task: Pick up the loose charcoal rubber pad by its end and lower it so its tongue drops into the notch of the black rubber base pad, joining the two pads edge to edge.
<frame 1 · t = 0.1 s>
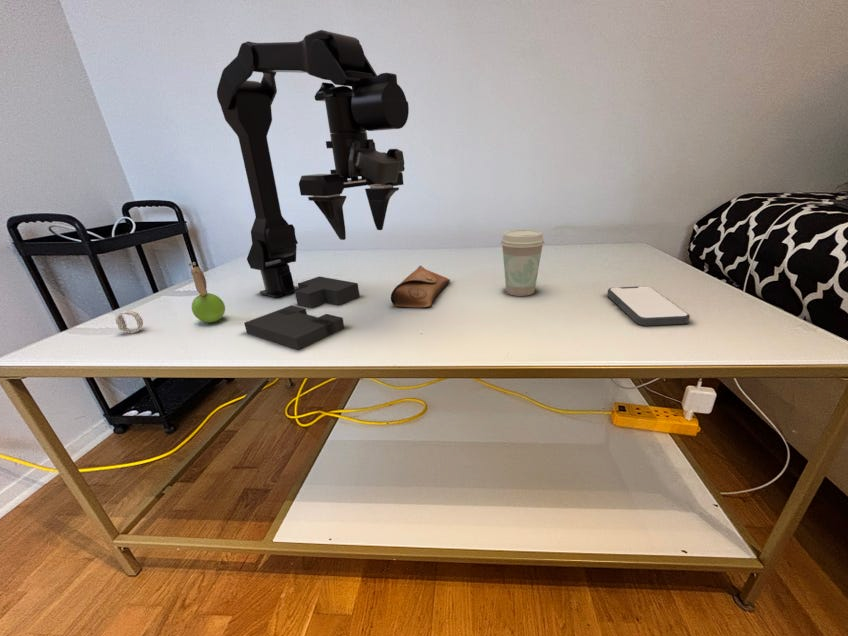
hand: (362, 234, 72), 15 cm above the table, tool pointing down, fingers open, 9 cm apart
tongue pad: (329, 296, 89), on the table
phone case: (643, 309, 75), on the table
green ball with stick: (213, 323, 78), on the table
sunglasses case: (423, 294, 88), on the table
beige textured ring: (133, 332, 75), on the table
notched pad: (300, 328, 73), on the table
coffee cup: (520, 292, 86), on the table
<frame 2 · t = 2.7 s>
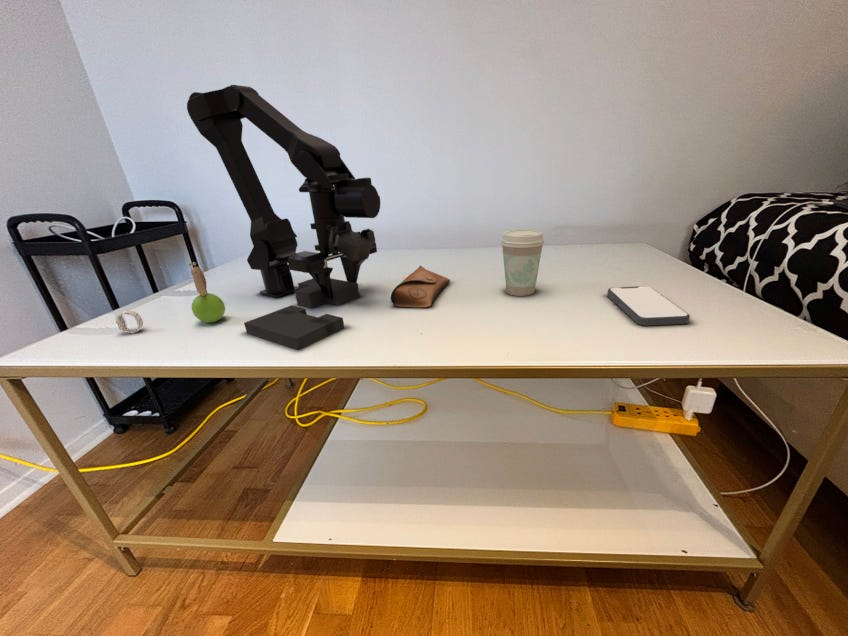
hand: (342, 294, 86), 1 cm above the table, tool pointing down, fingers closed on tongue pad, 6 cm apart
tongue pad: (329, 296, 89), on the table, touching gripper
everything else where it was.
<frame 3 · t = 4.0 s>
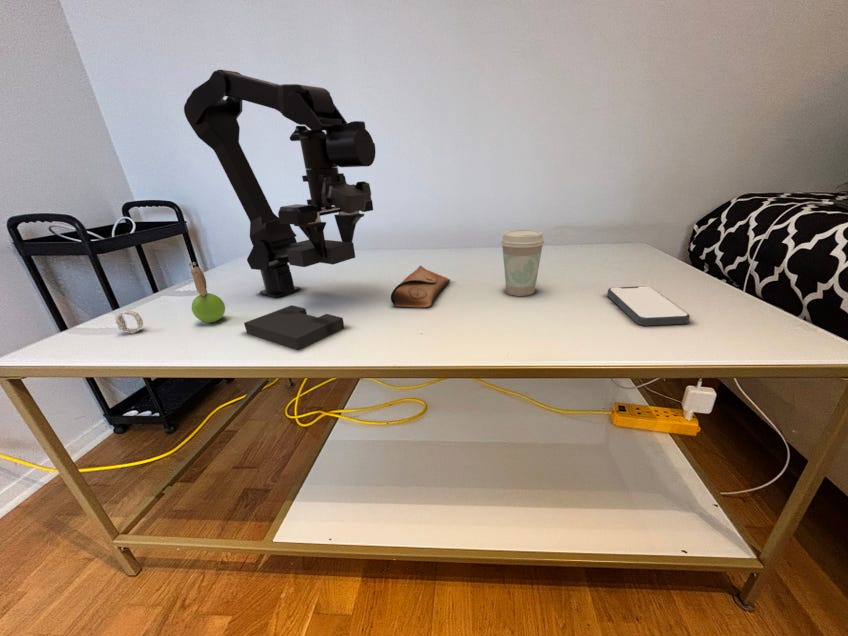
hand: (336, 254, 82), 10 cm above the table, tool pointing down, fingers closed on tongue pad, 6 cm apart
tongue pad: (324, 258, 84), point 8 cm above the table, touching gripper
everything else where it was.
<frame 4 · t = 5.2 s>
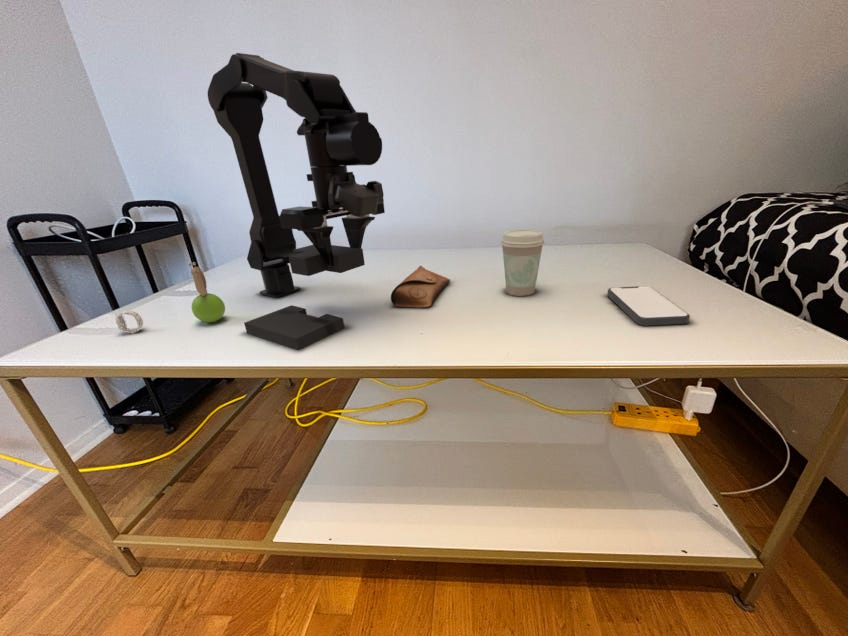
hand: (344, 262, 74), 10 cm above the table, tool pointing down, fingers closed on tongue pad, 6 cm apart
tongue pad: (329, 265, 76), point 9 cm above the table, touching gripper
everything else where it was.
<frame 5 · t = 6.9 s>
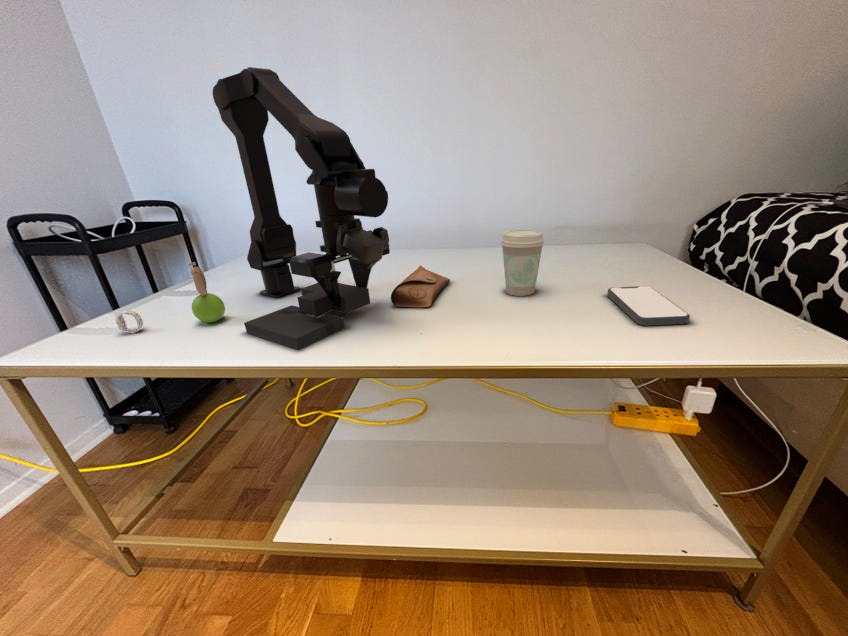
hand: (350, 301, 76), 3 cm above the table, tool pointing down, fingers closed on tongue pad, 6 cm apart
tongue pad: (336, 303, 79), point 2 cm above the table, touching gripper
everything else where it was.
when the fingers open (1 cm above the table, at t = 8.0 s): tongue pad stays where it is, on the table.
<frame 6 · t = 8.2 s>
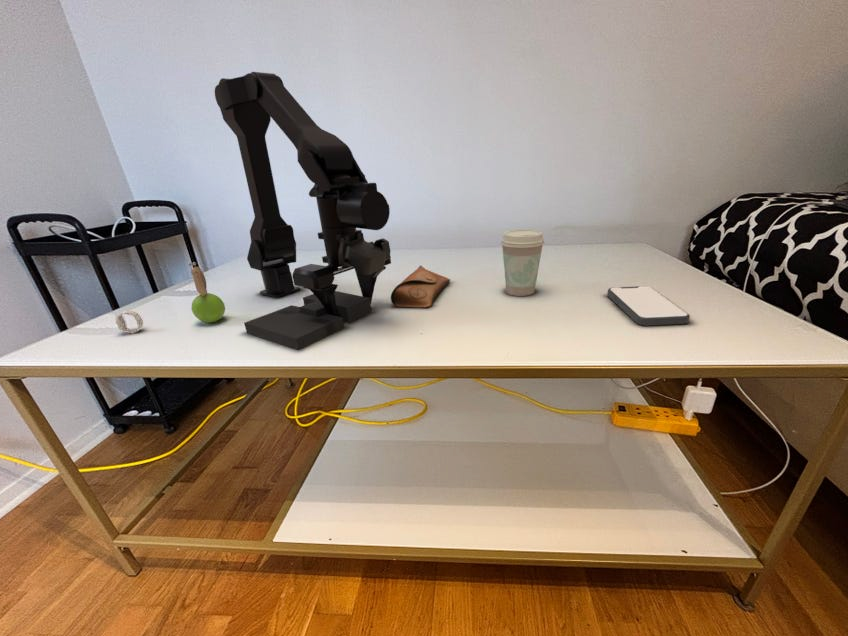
hand: (352, 311, 77), 1 cm above the table, tool pointing down, fingers open, 8 cm apart
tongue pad: (338, 312, 80), on the table
notched pad: (300, 328, 73), on the table, touching gripper
everything else where it was.
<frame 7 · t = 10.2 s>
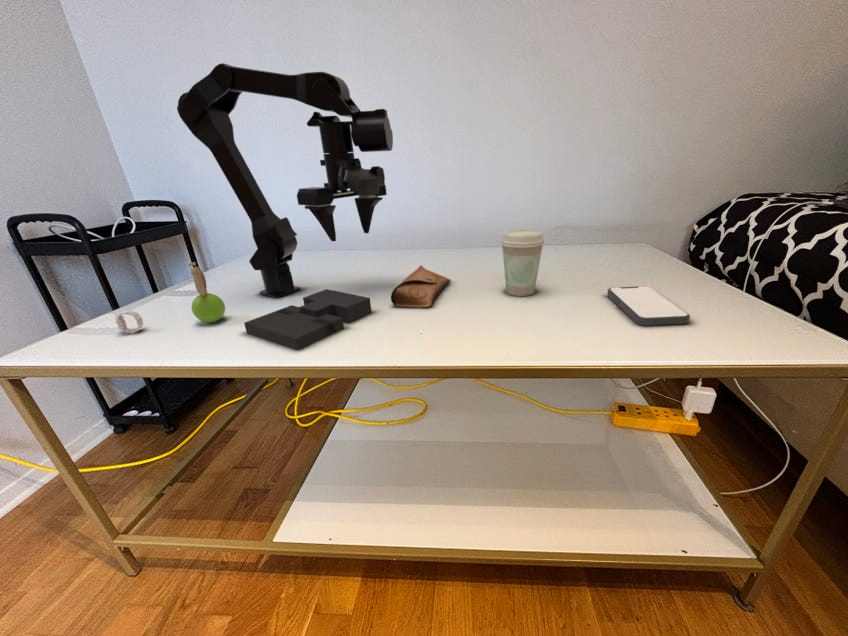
hand: (350, 237, 86), 12 cm above the table, tool pointing down, fingers open, 9 cm apart
notched pad: (300, 328, 73), on the table
everything else where it was.
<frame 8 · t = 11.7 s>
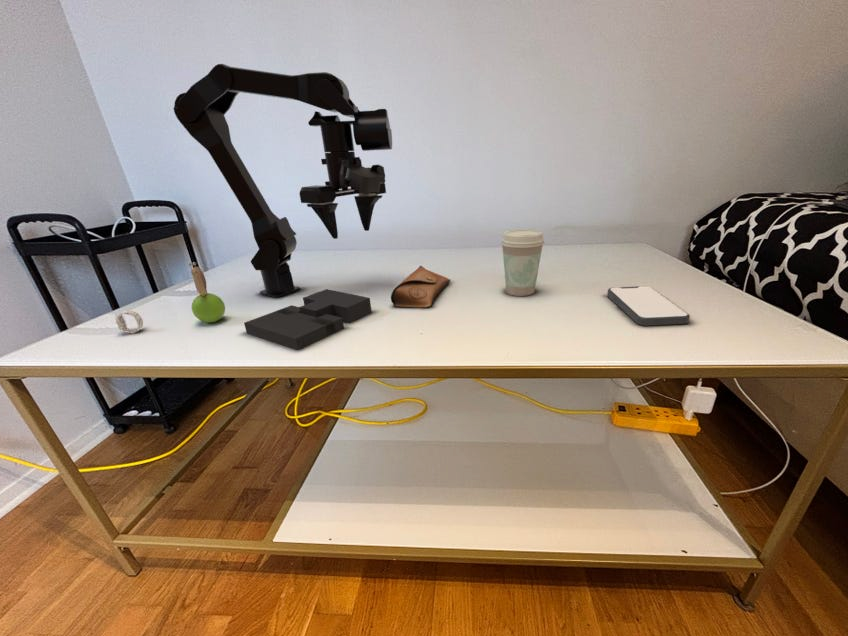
hand: (351, 234, 87), 12 cm above the table, tool pointing down, fingers open, 9 cm apart
nothing on the table moved.
at the end: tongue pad 0.3 cm from the target spot on the table beside the notched pad, on the table; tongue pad tilted 0°; the gripper is holding nothing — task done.
